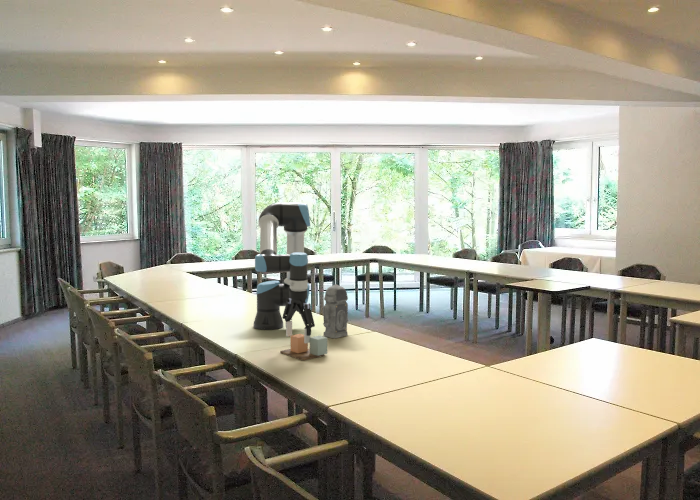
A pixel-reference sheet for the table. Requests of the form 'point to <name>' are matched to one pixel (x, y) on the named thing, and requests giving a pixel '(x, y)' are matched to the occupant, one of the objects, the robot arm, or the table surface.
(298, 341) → the orange block
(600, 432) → the table surface
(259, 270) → the robot arm
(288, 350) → the stand
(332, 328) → the figurine
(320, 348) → the pale blue-grey block
